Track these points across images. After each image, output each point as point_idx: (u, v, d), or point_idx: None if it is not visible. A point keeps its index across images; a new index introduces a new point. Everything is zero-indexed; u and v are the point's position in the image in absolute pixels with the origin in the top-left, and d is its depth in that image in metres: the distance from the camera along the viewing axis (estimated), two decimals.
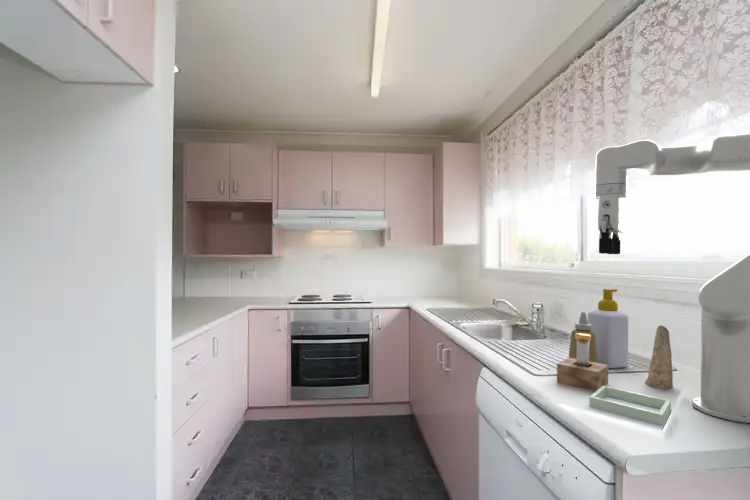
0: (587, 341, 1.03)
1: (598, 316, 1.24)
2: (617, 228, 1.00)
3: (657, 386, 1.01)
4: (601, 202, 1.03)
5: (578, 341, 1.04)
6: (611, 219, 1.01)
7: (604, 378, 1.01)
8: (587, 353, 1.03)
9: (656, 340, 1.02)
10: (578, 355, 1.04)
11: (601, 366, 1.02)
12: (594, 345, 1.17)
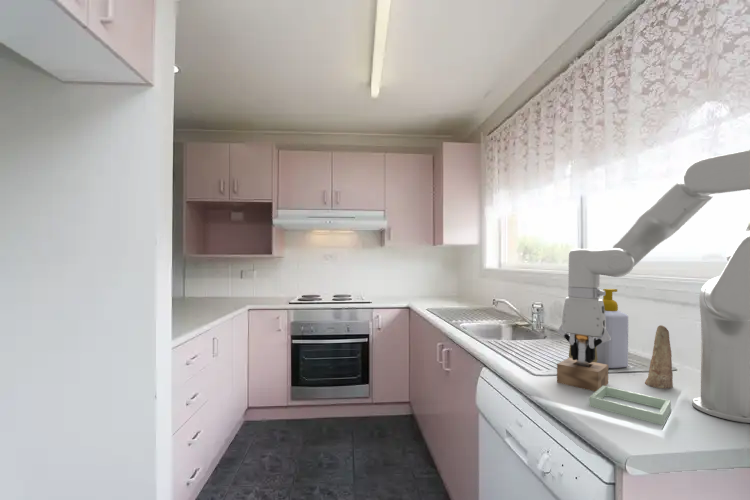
0: (587, 341, 1.03)
1: None
2: None
3: (657, 386, 1.01)
4: (600, 307, 1.00)
5: (578, 341, 1.04)
6: (605, 324, 1.01)
7: (604, 378, 1.01)
8: None
9: (656, 340, 1.02)
10: (578, 355, 1.04)
11: (601, 366, 1.02)
12: None
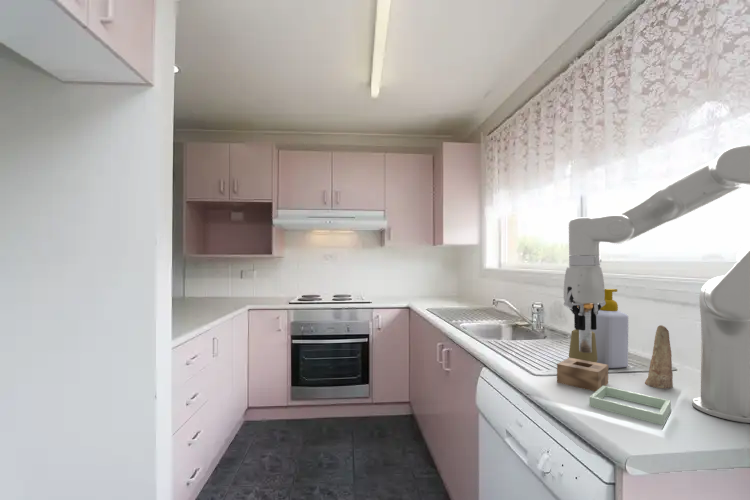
0: None
1: (598, 316, 1.24)
2: None
3: (657, 386, 1.01)
4: None
5: (586, 310, 1.03)
6: None
7: (604, 378, 1.01)
8: None
9: (656, 340, 1.02)
10: (586, 324, 1.03)
11: (601, 366, 1.02)
12: (594, 345, 1.17)
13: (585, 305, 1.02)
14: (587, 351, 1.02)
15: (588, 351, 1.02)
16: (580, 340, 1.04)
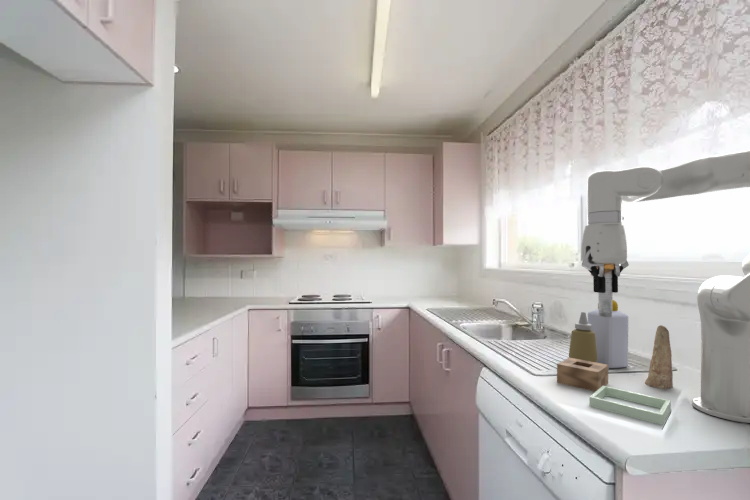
0: None
1: (598, 316, 1.24)
2: None
3: (657, 386, 1.01)
4: None
5: (606, 271, 0.95)
6: None
7: (604, 378, 1.01)
8: None
9: (656, 340, 1.02)
10: (606, 287, 0.95)
11: (601, 366, 1.02)
12: (594, 345, 1.17)
13: (605, 265, 0.95)
14: (607, 315, 0.95)
15: (608, 315, 0.95)
16: (600, 304, 0.96)
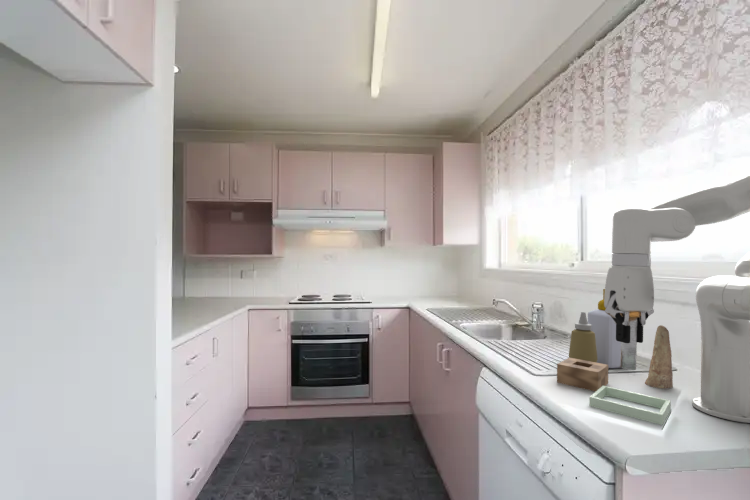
0: None
1: (598, 316, 1.24)
2: None
3: (657, 386, 1.01)
4: None
5: (631, 319, 0.86)
6: None
7: (604, 378, 1.01)
8: None
9: (656, 340, 1.02)
10: (631, 336, 0.86)
11: (601, 366, 1.02)
12: (594, 345, 1.17)
13: (631, 313, 0.86)
14: (631, 368, 0.86)
15: (632, 368, 0.86)
16: (622, 354, 0.87)
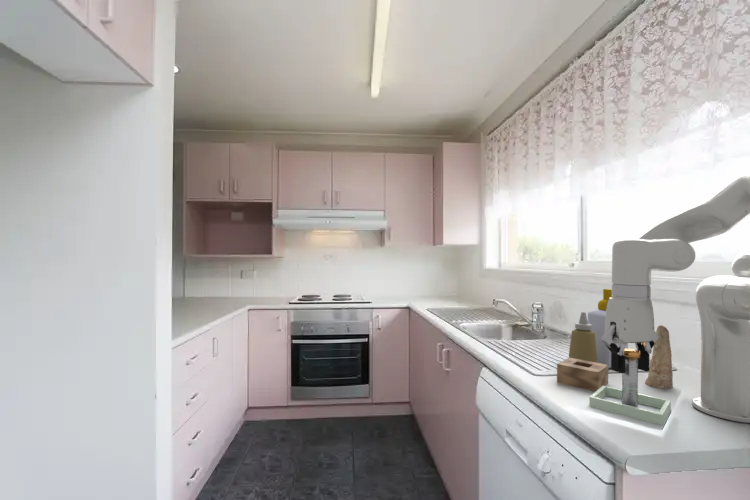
0: None
1: (598, 316, 1.24)
2: None
3: (657, 386, 1.01)
4: None
5: (632, 360, 0.86)
6: None
7: (604, 378, 1.01)
8: None
9: None
10: (632, 377, 0.86)
11: (601, 366, 1.02)
12: (594, 345, 1.17)
13: (631, 353, 0.86)
14: None
15: None
16: (624, 394, 0.87)
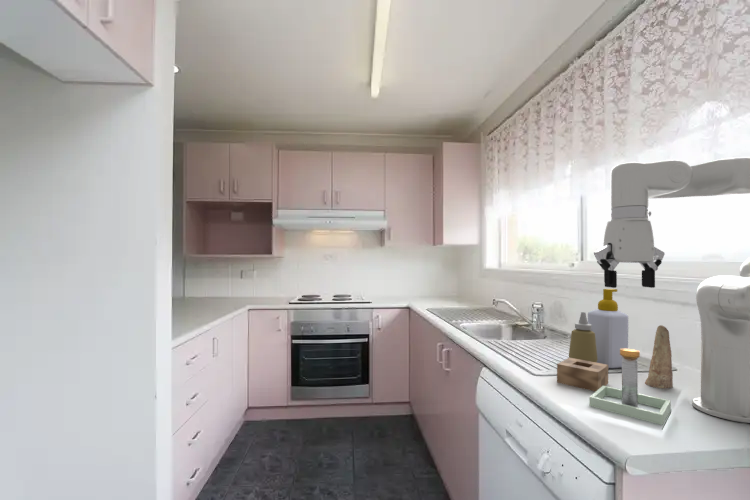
0: None
1: (598, 316, 1.24)
2: None
3: (657, 386, 1.01)
4: None
5: (631, 360, 0.86)
6: None
7: (604, 378, 1.01)
8: None
9: (656, 340, 1.02)
10: (632, 377, 0.86)
11: (601, 366, 1.02)
12: (594, 345, 1.17)
13: (631, 353, 0.86)
14: None
15: None
16: (624, 394, 0.87)
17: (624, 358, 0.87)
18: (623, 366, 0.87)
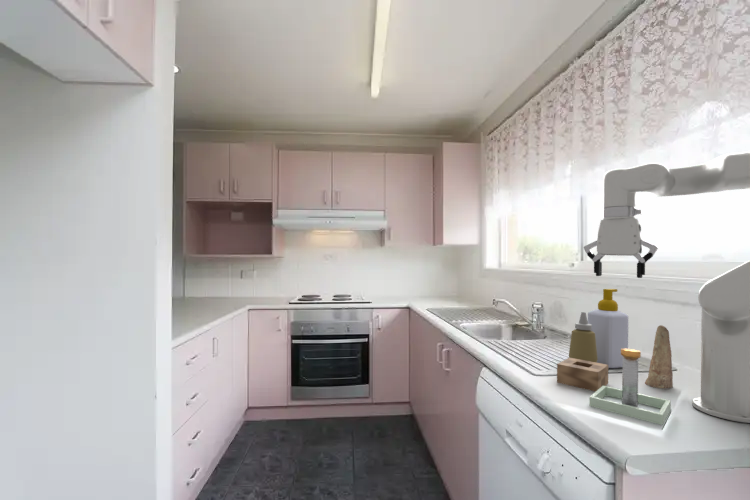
0: None
1: (598, 316, 1.24)
2: None
3: (657, 386, 1.01)
4: (637, 225, 1.00)
5: (632, 360, 0.86)
6: None
7: (604, 378, 1.01)
8: None
9: (656, 340, 1.02)
10: (632, 377, 0.86)
11: (601, 366, 1.02)
12: (594, 345, 1.17)
13: (632, 353, 0.86)
14: None
15: None
16: (624, 394, 0.87)
17: (625, 358, 0.87)
18: (624, 366, 0.87)
